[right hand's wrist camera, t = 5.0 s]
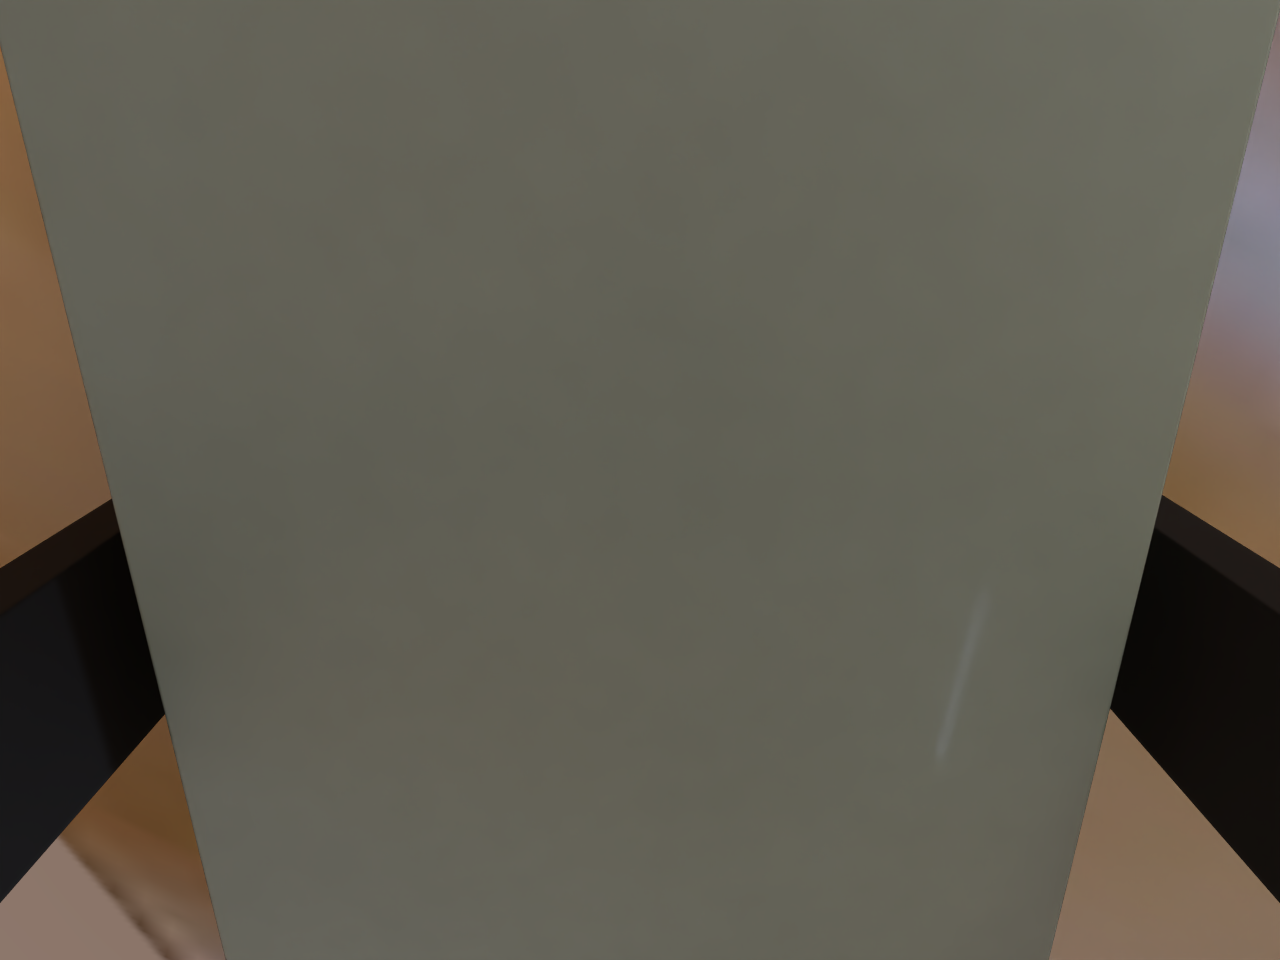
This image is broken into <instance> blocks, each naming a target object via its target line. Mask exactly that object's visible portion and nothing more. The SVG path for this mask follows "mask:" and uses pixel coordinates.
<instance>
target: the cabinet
mask: <svg viewBox="0 0 1280 960" xmlns="http://www.w3.org/2000/svg"><path fill="white" fill-rule="evenodd" d="M1279 11H1280V0H0V47H1V51H2V55H3V59H4V63H5V67H6V71H7V75H8V79H9V83H10V87H11V91H12V95H13V99H14V103H15V107H16V111H17V115H18V120H19V124H20V128H21V132H22V136H23V140H24V144H25V148H26V152H27V156H28V160H29V164H30V168H31V172H32V176H33V180H34V184H35V188H36V193H37V197H38V201H39V205H40V209H41V213H42V217H43V221H44V225H45V229H46V233H47V237H48V241H49V245H50V249H51V253H52V257H53V261H54V265H55V270H56V274H57V278H58V282H59V286H60V290H61V294H62V298H63V302H64V306H65V310H66V314H67V318H68V322H69V326H70V330H71V334H72V338H73V342H74V347H75V351H76V355H77V359H78V363H79V367H80V371H81V375H82V379H83V383H84V387H85V391H86V395H87V399H88V403H89V407H90V411H91V415H92V419H93V424H94V428H95V432H96V436H97V440H98V444H99V448H100V452H101V456H102V460H103V464H104V468H105V472H106V476H107V480H108V484H109V488H110V492H111V497H112V501H113V505H114V509H115V513H116V517H117V521H118V525H119V529H120V533H121V537H122V541H123V545H124V549H125V553H126V557H127V561H128V565H129V569H130V574H131V578H132V582H133V586H134V590H135V594H136V598H137V602H138V606H139V610H140V614H141V618H142V622H143V626H144V630H145V634H146V638H147V642H148V646H149V651H150V655H151V659H152V663H153V667H154V671H155V675H156V679H157V683H158V687H159V691H160V695H161V699H162V703H163V707H164V711H165V715H166V719H167V724H168V728H169V732H170V736H171V740H172V744H173V748H174V752H175V756H176V760H177V764H178V768H179V772H180V776H181V780H182V784H183V788H184V792H185V796H186V801H187V805H188V809H189V813H190V817H191V821H192V825H193V829H194V833H195V837H196V841H197V845H198V849H199V853H200V857H201V861H202V865H203V869H204V873H205V878H206V882H207V886H208V890H209V894H210V898H211V902H212V906H213V910H214V914H215V918H216V922H217V926H218V930H219V934H220V938H221V942H222V946H223V950H224V955H225V959H226V960H1049V956H1050V952H1051V948H1052V944H1053V940H1054V936H1055V932H1056V928H1057V924H1058V919H1059V915H1060V911H1061V907H1062V903H1063V899H1064V895H1065V891H1066V887H1067V882H1068V878H1069V874H1070V870H1071V866H1072V862H1073V858H1074V854H1075V850H1076V845H1077V841H1078V837H1079V833H1080V829H1081V825H1082V821H1083V817H1084V813H1085V808H1086V804H1087V800H1088V796H1089V792H1090V788H1091V784H1092V780H1093V776H1094V772H1095V767H1096V763H1097V759H1098V755H1099V751H1100V747H1101V743H1102V739H1103V735H1104V730H1105V726H1106V722H1107V718H1108V714H1109V710H1110V706H1111V702H1112V698H1113V693H1114V689H1115V685H1116V681H1117V677H1118V673H1119V669H1120V665H1121V661H1122V656H1123V652H1124V648H1125V644H1126V640H1127V636H1128V632H1129V628H1130V624H1131V620H1132V615H1133V611H1134V607H1135V603H1136V599H1137V595H1138V591H1139V587H1140V583H1141V578H1142V574H1143V570H1144V566H1145V562H1146V558H1147V554H1148V550H1149V546H1150V541H1151V537H1152V533H1153V529H1154V525H1155V521H1156V517H1157V513H1158V509H1159V504H1160V500H1161V496H1162V492H1163V488H1164V484H1165V480H1166V476H1167V472H1168V467H1169V463H1170V459H1171V455H1172V451H1173V447H1174V443H1175V439H1176V435H1177V431H1178V426H1179V422H1180V418H1181V414H1182V410H1183V406H1184V402H1185V398H1186V394H1187V389H1188V385H1189V381H1190V377H1191V373H1192V369H1193V365H1194V361H1195V357H1196V352H1197V348H1198V344H1199V340H1200V336H1201V332H1202V328H1203V324H1204V320H1205V315H1206V311H1207V307H1208V303H1209V299H1210V295H1211V291H1212V287H1213V283H1214V278H1215V274H1216V270H1217V266H1218V262H1219V258H1220V254H1221V250H1222V246H1223V242H1224V237H1225V233H1226V229H1227V225H1228V221H1229V217H1230V213H1231V209H1232V205H1233V200H1234V196H1235V192H1236V188H1237V184H1238V180H1239V176H1240V172H1241V168H1242V163H1243V159H1244V155H1245V151H1246V147H1247V143H1248V139H1249V135H1250V131H1251V126H1252V122H1253V118H1254V114H1255V110H1256V106H1257V102H1258V98H1259V94H1260V89H1261V85H1262V81H1263V77H1264V73H1265V69H1266V65H1267V61H1268V57H1269V53H1270V48H1271V44H1272V40H1273V36H1274V32H1275V28H1276V24H1277V20H1278V16H1279Z"/></svg>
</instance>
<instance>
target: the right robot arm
mask: <svg viewBox="0 0 1280 960" xmlns="http://www.w3.org/2000/svg"><path fill="white" fill-rule="evenodd" d="M1110 709H1111V710H1112V711H1113V712H1114V713H1115V714H1116V716H1117V717H1118V718H1119V719H1120V720H1121V721H1122V723H1123V724H1124V725H1125V726H1126V727H1127V728H1128V729H1129V731H1130V732H1131V733H1132V734H1133V735H1134V736H1135V737H1136V739H1137V740H1138V741H1139V742H1140V743H1141V744H1142V745H1143V747H1144V748H1145V749H1146V750H1147V751H1148V752H1149V753H1150V755H1151V756H1152V757H1153V758H1154V759H1155V760H1156V761H1157V763H1158V764H1159V765H1160V766H1161V767H1162V768H1163V770H1164V771H1165V772H1166V773H1167V774H1168V775H1169V776H1170V778H1171V779H1172V780H1173V781H1174V782H1175V783H1176V784H1177V786H1178V787H1179V788H1180V789H1181V790H1182V791H1183V792H1184V794H1185V795H1186V796H1187V797H1188V798H1189V799H1190V800H1191V802H1192V803H1193V804H1194V805H1195V806H1196V807H1197V809H1198V810H1199V811H1200V812H1201V813H1202V814H1203V815H1204V817H1205V818H1206V819H1207V820H1208V821H1209V822H1210V823H1211V825H1212V826H1213V827H1214V828H1215V829H1216V830H1217V831H1218V833H1219V834H1220V835H1221V836H1222V837H1223V838H1224V839H1225V841H1226V842H1227V843H1228V844H1229V845H1230V846H1231V847H1232V849H1233V850H1234V851H1235V852H1236V853H1237V854H1238V856H1239V857H1240V858H1241V859H1242V860H1243V861H1244V862H1245V864H1246V865H1247V866H1248V867H1249V868H1250V869H1251V870H1252V872H1253V873H1254V874H1255V875H1256V876H1257V877H1258V878H1259V880H1260V881H1261V882H1262V883H1263V884H1264V885H1265V886H1266V888H1267V889H1268V890H1269V891H1270V892H1271V893H1272V895H1273V896H1274V897H1275V898H1276V899H1277V900H1278V901H1279V903H1280V568H1278V567H1277V566H1275V565H1274V564H1272V563H1270V562H1269V561H1267V560H1266V559H1264V558H1262V557H1261V556H1259V555H1258V554H1256V553H1254V552H1253V551H1251V550H1250V549H1248V548H1246V547H1245V546H1243V545H1241V544H1240V543H1238V542H1237V541H1235V540H1233V539H1232V538H1230V537H1229V536H1227V535H1225V534H1224V533H1222V532H1221V531H1219V530H1217V529H1216V528H1214V527H1213V526H1211V525H1209V524H1208V523H1206V522H1205V521H1203V520H1201V519H1200V518H1198V517H1197V516H1195V515H1193V514H1192V513H1190V512H1189V511H1187V510H1185V509H1184V508H1182V507H1181V506H1179V505H1177V504H1176V503H1174V502H1173V501H1171V500H1169V499H1168V498H1166V497H1165V496H1163V495H1162V496H1161V500H1160V504H1159V509H1158V513H1157V517H1156V521H1155V525H1154V529H1153V533H1152V537H1151V541H1150V546H1149V550H1148V554H1147V558H1146V562H1145V566H1144V570H1143V574H1142V578H1141V583H1140V587H1139V591H1138V595H1137V599H1136V603H1135V607H1134V611H1133V615H1132V620H1131V624H1130V628H1129V632H1128V636H1127V640H1126V644H1125V648H1124V652H1123V656H1122V661H1121V665H1120V669H1119V673H1118V677H1117V681H1116V685H1115V689H1114V693H1113V698H1112V702H1111V706H1110ZM164 714H165V711H164V707H163V703H162V699H161V695H160V691H159V687H158V683H157V679H156V675H155V671H154V667H153V663H152V659H151V655H150V651H149V646H148V642H147V638H146V634H145V630H144V626H143V622H142V618H141V614H140V610H139V606H138V602H137V598H136V594H135V590H134V586H133V582H132V578H131V574H130V569H129V565H128V561H127V557H126V553H125V549H124V545H123V541H122V537H121V533H120V529H119V525H118V521H117V517H116V513H115V509H114V505H113V501H112V499H111V500H109V501H107V502H106V503H104V504H103V505H101V506H99V507H98V508H96V509H95V510H93V511H91V512H90V513H88V514H87V515H85V516H83V517H82V518H80V519H79V520H77V521H75V522H74V523H72V524H71V525H69V526H67V527H66V528H64V529H63V530H61V531H59V532H58V533H56V534H55V535H53V536H51V537H50V538H48V539H47V540H45V541H43V542H42V543H40V544H39V545H37V546H35V547H34V548H32V549H30V550H29V551H27V552H26V553H24V554H22V555H21V556H19V557H18V558H16V559H14V560H13V561H11V562H10V563H8V564H6V565H5V566H3V567H2V568H0V903H1V901H2V900H3V899H4V898H5V897H6V896H7V894H8V893H9V892H10V891H11V890H12V889H13V888H14V886H15V885H16V884H17V883H18V882H19V881H20V880H21V878H22V877H23V876H24V875H25V874H26V873H27V872H28V870H29V869H30V868H31V867H32V866H33V865H34V863H35V862H36V861H37V860H38V859H39V858H40V857H41V855H42V854H43V853H44V852H45V851H46V850H47V849H48V847H49V846H50V845H51V844H52V843H53V842H54V841H55V839H56V838H57V837H58V836H59V835H60V834H61V833H62V831H63V830H64V829H65V828H66V827H67V826H68V825H69V823H70V822H71V821H72V820H73V819H74V818H75V817H76V815H77V814H78V813H79V812H80V811H81V810H82V809H83V807H84V806H85V805H86V804H87V803H88V802H89V800H90V799H91V798H92V797H93V796H94V795H95V794H96V792H97V791H98V790H99V789H100V788H101V787H102V786H103V784H104V783H105V782H106V781H107V780H108V779H109V778H110V776H111V775H112V774H113V773H114V772H115V771H116V770H117V768H118V767H119V766H120V765H121V764H122V763H123V761H124V760H125V759H126V758H127V757H128V756H129V755H130V753H131V752H132V751H133V750H134V749H135V748H136V747H137V745H138V744H139V743H140V742H141V741H142V740H143V739H144V737H145V736H146V735H147V734H148V733H149V732H150V731H151V729H152V728H153V727H154V726H155V725H156V724H157V723H158V721H159V720H160V719H161V718H162V717H163V716H164Z"/></svg>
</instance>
